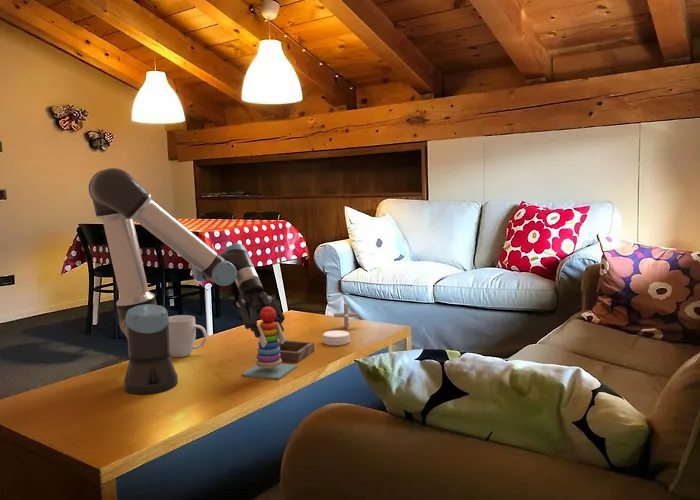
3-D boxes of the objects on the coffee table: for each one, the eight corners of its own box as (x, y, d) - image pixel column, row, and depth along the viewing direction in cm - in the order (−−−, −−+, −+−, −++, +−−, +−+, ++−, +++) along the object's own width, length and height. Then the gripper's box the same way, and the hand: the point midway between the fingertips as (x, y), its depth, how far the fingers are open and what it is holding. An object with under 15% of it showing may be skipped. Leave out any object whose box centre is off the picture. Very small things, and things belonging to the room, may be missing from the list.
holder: (298, 361, 193) (298, 353, 193) (262, 358, 198) (262, 350, 197) (314, 350, 206) (314, 342, 205) (280, 348, 210) (279, 339, 210)
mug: (210, 349, 210) (209, 314, 209) (204, 358, 199) (202, 321, 198) (169, 350, 210) (167, 315, 208) (160, 359, 199) (158, 322, 197)
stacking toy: (280, 369, 180) (277, 309, 177) (254, 369, 180) (251, 310, 178) (283, 360, 188) (281, 304, 185) (258, 361, 188) (256, 304, 185)
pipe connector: (358, 330, 234) (358, 305, 233) (333, 330, 234) (333, 306, 233) (358, 324, 244) (358, 300, 243) (334, 324, 244) (334, 301, 243)
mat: (279, 379, 176) (279, 377, 176) (241, 375, 180) (241, 373, 180) (297, 366, 188) (297, 364, 188) (261, 363, 192) (261, 361, 192)
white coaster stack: (333, 337, 224) (333, 328, 224) (354, 341, 218) (354, 332, 218) (317, 343, 216) (317, 334, 215) (339, 347, 210) (339, 338, 210)
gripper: (270, 287, 199) (296, 344, 188) (219, 294, 189) (243, 355, 177) (277, 274, 194) (304, 331, 183) (225, 280, 184) (250, 341, 172)
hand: (274, 343), depth 180 cm, fingers closed on stacking toy, 6 cm apart
